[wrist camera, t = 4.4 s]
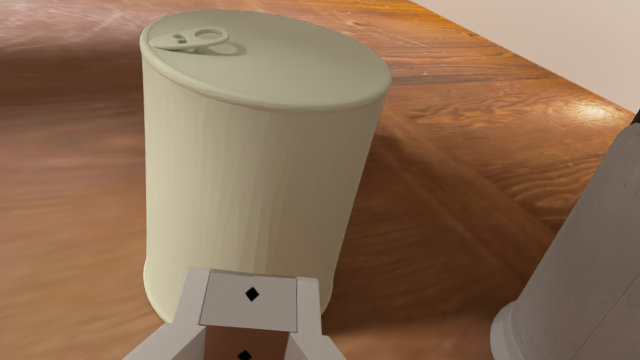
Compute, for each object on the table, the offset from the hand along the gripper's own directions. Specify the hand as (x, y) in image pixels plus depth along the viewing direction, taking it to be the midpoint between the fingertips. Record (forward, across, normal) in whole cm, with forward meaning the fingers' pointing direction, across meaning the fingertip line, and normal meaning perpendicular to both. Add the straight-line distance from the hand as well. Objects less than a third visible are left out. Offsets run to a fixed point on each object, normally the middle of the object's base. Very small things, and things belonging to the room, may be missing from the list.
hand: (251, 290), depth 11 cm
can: (+9, 0, +9) cm, 13 cm away
